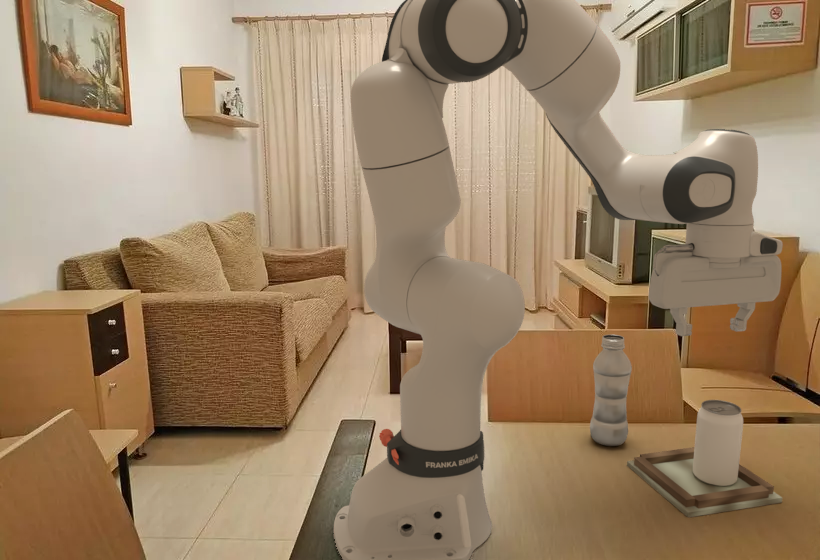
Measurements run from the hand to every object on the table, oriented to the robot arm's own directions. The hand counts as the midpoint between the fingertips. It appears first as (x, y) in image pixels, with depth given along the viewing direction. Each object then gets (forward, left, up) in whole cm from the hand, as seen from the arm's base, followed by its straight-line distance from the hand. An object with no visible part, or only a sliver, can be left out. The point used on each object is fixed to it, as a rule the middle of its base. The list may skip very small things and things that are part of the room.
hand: (710, 332), depth 95 cm
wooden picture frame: (0, 0, -25) cm, 25 cm away
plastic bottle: (-6, +17, -25) cm, 31 cm away
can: (+2, 0, -24) cm, 24 cm away
